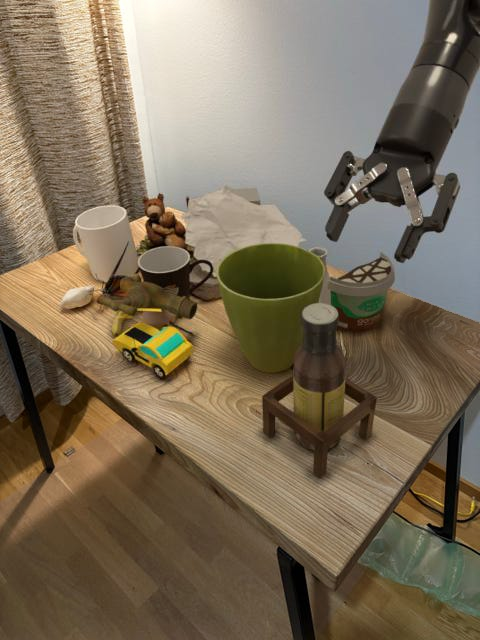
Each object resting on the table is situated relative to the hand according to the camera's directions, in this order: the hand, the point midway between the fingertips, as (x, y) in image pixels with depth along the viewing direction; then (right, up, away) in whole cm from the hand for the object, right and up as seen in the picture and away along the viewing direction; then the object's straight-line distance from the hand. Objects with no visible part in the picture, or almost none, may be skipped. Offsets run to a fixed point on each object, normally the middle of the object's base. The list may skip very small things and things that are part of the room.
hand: (363, 249), depth 61 cm
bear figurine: (-28, +5, +48) cm, 56 cm away
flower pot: (-9, -14, +22) cm, 28 cm away
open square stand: (-4, -23, +9) cm, 25 cm away
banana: (-36, -8, +31) cm, 48 cm away
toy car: (-28, -14, +23) cm, 39 cm away
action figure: (-26, -3, +28) cm, 38 cm away
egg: (-26, -6, +30) cm, 40 cm away
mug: (-40, +1, +45) cm, 60 cm away
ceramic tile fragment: (-24, -3, +35) cm, 42 cm away
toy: (-13, +8, +44) cm, 46 cm away
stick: (-23, -8, +25) cm, 35 cm away
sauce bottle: (-4, -23, +10) cm, 25 cm away
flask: (-1, -5, +34) cm, 34 cm away
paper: (-15, +19, +41) cm, 47 cm away
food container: (+7, -9, +28) cm, 30 cm away
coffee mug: (-25, -6, +33) cm, 42 cm away
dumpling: (-43, -5, +36) cm, 56 cm away
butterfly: (-40, -2, +35) cm, 53 cm away
